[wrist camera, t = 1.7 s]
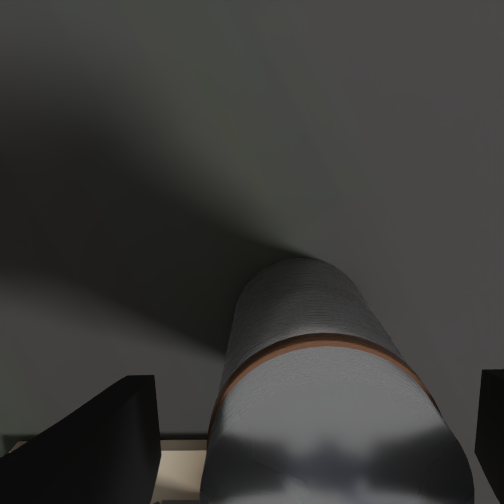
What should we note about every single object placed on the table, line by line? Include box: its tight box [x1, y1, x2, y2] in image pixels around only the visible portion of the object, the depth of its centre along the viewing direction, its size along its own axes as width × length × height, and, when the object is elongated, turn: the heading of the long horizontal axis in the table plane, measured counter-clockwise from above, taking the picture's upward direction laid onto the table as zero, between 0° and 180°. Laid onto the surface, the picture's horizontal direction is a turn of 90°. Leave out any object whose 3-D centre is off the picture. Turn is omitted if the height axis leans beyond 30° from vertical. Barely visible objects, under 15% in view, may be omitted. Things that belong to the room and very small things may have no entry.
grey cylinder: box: [199, 258, 474, 504], centre depth 11 cm, size 5×5×8 cm
